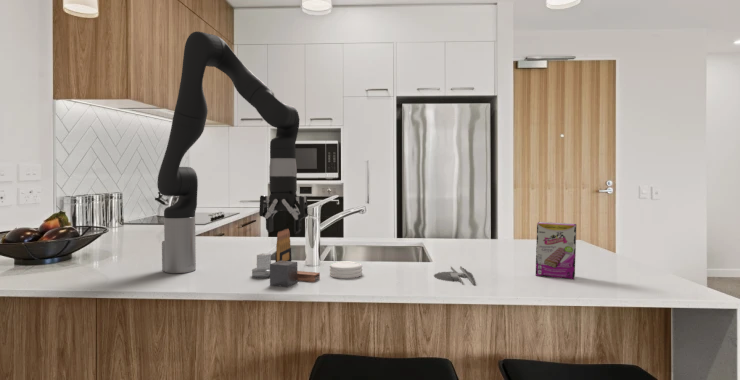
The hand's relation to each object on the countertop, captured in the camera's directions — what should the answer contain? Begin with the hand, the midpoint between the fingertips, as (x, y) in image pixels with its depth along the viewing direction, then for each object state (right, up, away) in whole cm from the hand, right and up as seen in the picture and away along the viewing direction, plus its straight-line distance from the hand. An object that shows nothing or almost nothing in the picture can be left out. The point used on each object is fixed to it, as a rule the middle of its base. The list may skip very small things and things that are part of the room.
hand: (283, 232), depth 131 cm
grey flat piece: (+51, -15, +11) cm, 55 cm away
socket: (0, -15, +1) cm, 15 cm away
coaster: (+17, -15, +13) cm, 26 cm away
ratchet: (-1, -14, +9) cm, 17 cm away
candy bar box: (+81, -15, +11) cm, 83 cm away
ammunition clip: (-5, -14, +28) cm, 32 cm away
